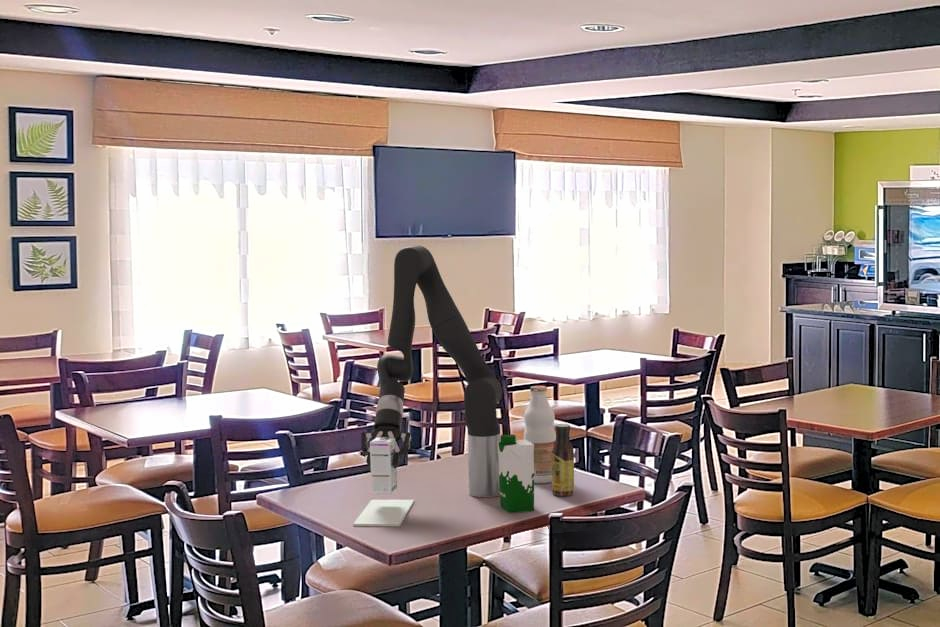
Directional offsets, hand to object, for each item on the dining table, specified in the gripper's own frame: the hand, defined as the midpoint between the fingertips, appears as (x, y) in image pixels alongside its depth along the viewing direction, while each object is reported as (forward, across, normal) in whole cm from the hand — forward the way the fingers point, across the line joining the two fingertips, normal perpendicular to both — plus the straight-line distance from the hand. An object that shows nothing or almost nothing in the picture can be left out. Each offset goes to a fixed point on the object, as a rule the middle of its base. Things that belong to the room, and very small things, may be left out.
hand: (382, 466), depth 285 cm
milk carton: (+8, +36, +8) cm, 38 cm away
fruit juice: (-15, +41, +31) cm, 54 cm away
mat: (+11, +1, +5) cm, 13 cm away
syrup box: (+4, 0, +6) cm, 8 cm away
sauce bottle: (-3, +48, +19) cm, 52 cm away
